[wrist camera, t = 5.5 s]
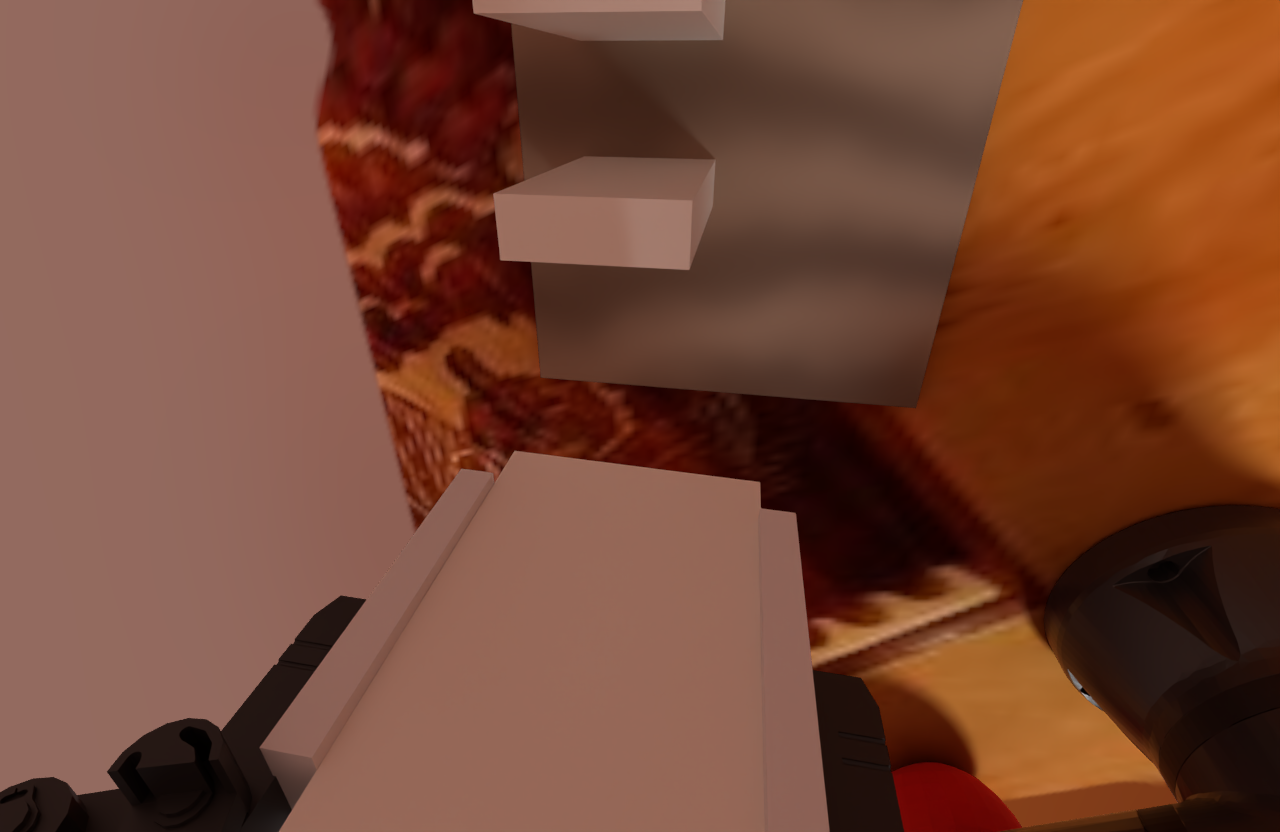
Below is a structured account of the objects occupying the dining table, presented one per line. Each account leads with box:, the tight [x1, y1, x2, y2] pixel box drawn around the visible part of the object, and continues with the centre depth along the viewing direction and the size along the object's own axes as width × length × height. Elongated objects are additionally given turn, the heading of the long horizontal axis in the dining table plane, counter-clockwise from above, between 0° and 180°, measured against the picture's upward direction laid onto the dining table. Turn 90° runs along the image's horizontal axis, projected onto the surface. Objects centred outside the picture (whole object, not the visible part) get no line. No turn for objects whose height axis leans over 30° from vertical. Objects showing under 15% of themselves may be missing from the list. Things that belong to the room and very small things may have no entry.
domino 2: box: [493, 156, 715, 270], centre depth 23 cm, size 2×6×11 cm, turn 90°
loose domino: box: [279, 451, 765, 832], centre depth 10 cm, size 2×6×11 cm, turn 87°
